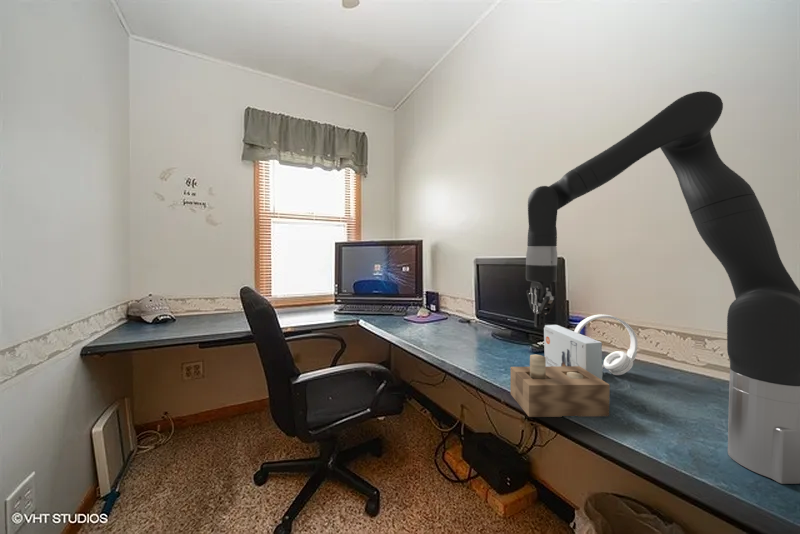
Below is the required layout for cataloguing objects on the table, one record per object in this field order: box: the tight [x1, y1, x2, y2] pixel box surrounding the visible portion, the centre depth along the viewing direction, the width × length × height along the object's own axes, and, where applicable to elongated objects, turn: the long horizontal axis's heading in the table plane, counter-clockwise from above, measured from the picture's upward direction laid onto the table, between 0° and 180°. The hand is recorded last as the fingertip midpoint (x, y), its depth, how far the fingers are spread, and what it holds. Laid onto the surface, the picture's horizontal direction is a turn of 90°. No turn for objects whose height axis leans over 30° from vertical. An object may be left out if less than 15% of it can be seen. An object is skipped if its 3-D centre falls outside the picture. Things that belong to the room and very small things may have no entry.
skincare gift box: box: [543, 324, 603, 380], centre depth 91 cm, size 21×5×16 cm, turn 4°
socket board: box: [510, 366, 611, 418], centre depth 77 cm, size 20×12×8 cm, turn 90°
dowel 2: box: [567, 372, 583, 379], centre depth 77 cm, size 4×4×8 cm
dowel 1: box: [529, 354, 546, 379], centre depth 77 cm, size 4×4×8 cm
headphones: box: [573, 313, 639, 376], centre depth 97 cm, size 8×19×20 cm, turn 78°
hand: (539, 327), depth 77 cm, fingers closed
